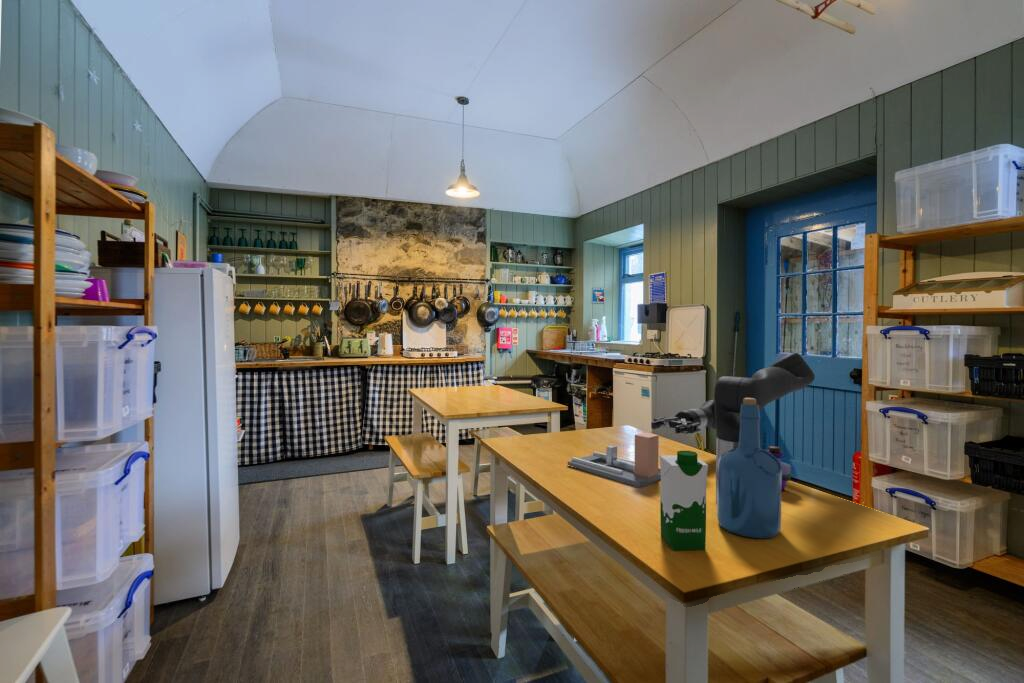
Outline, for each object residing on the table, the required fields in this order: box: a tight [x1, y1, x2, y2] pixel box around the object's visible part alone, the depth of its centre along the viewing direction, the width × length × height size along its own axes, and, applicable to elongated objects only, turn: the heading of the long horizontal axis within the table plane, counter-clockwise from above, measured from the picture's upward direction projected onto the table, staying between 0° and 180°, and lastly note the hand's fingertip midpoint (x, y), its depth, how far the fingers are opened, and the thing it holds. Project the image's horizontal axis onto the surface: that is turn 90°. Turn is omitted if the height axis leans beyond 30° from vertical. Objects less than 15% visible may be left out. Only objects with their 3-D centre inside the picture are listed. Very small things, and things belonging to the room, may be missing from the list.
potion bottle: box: [765, 445, 792, 490], centre depth 137 cm, size 9×9×12 cm
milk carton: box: [659, 450, 709, 551], centre depth 103 cm, size 9×9×20 cm
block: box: [634, 432, 659, 478], centre depth 145 cm, size 5×5×12 cm
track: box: [567, 451, 661, 488], centre depth 154 cm, size 16×28×2 cm, turn 41°
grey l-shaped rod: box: [605, 445, 635, 472], centre depth 152 cm, size 4×12×6 cm, turn 41°
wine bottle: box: [716, 398, 783, 539], centre depth 110 cm, size 14×13×30 cm
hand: (664, 427), depth 153 cm, fingers open, 8 cm apart
